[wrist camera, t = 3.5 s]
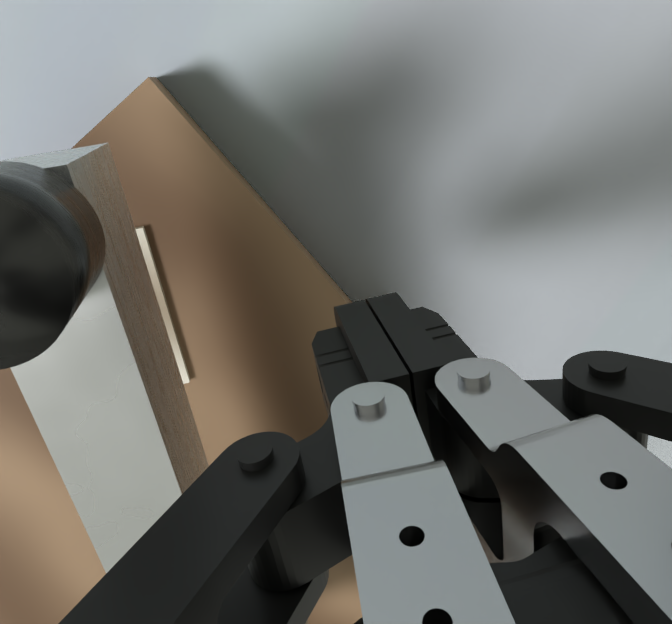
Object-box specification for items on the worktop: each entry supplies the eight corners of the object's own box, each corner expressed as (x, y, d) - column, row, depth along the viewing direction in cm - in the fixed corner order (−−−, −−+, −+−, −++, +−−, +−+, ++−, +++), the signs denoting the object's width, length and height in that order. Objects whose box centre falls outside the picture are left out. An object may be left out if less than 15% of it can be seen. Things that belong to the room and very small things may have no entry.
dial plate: (156, 77, 15) (147, 77, 13) (582, 565, 26) (603, 595, 25) (-302, 499, 17) (-354, 541, 16) (273, 775, 29) (276, 814, 27)
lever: (310, 604, 21) (350, 872, 14) (184, 637, 21) (160, 933, 14) (190, 111, 13) (143, 150, 6) (-16, 145, 13) (-325, 228, 6)
